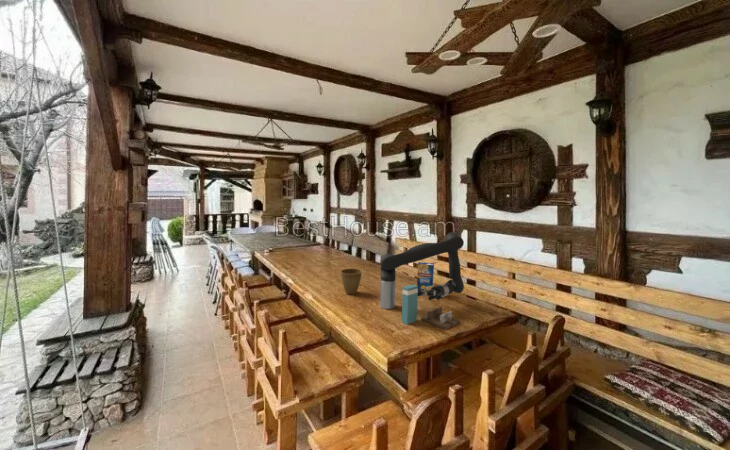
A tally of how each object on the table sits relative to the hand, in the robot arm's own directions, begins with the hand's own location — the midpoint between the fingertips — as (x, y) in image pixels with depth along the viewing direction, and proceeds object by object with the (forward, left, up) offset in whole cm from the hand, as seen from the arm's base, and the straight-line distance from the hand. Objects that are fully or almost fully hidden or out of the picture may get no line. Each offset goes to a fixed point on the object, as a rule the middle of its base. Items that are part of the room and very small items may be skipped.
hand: (423, 296), depth 181 cm
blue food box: (-43, +3, -12) cm, 45 cm away
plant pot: (-34, -49, -12) cm, 61 cm away
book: (+9, -7, -12) cm, 17 cm away
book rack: (+6, +10, -12) cm, 16 cm away
